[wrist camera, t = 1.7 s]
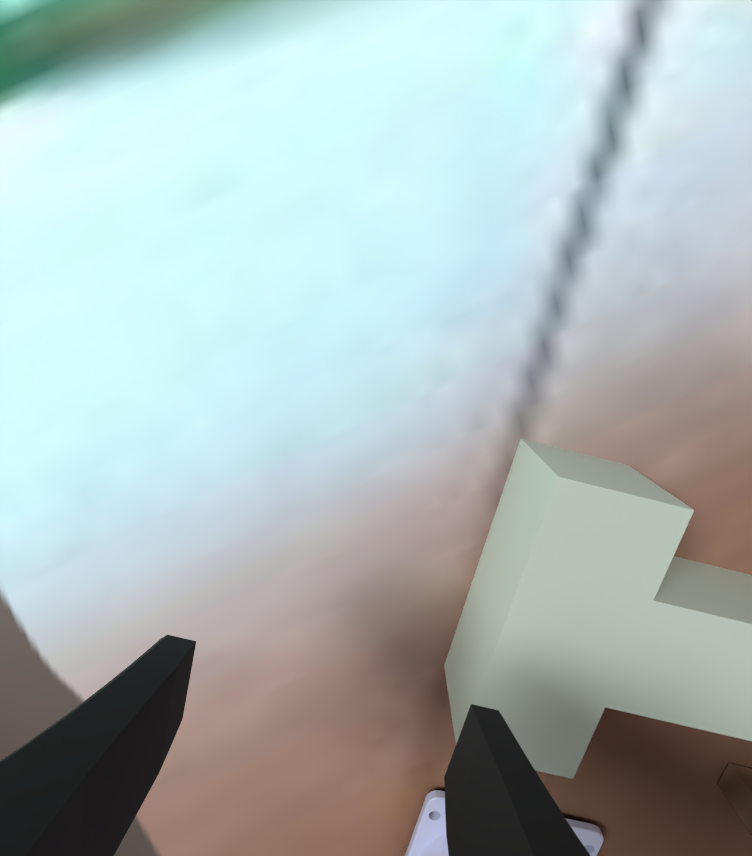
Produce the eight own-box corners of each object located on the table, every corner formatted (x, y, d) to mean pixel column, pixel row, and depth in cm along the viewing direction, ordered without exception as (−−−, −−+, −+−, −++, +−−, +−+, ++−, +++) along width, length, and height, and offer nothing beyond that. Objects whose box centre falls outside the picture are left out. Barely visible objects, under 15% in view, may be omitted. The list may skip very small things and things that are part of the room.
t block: (720, 728, 20) (798, 829, 16) (443, 665, 20) (457, 753, 16) (833, 515, 18) (958, 575, 14) (520, 438, 17) (558, 476, 13)
